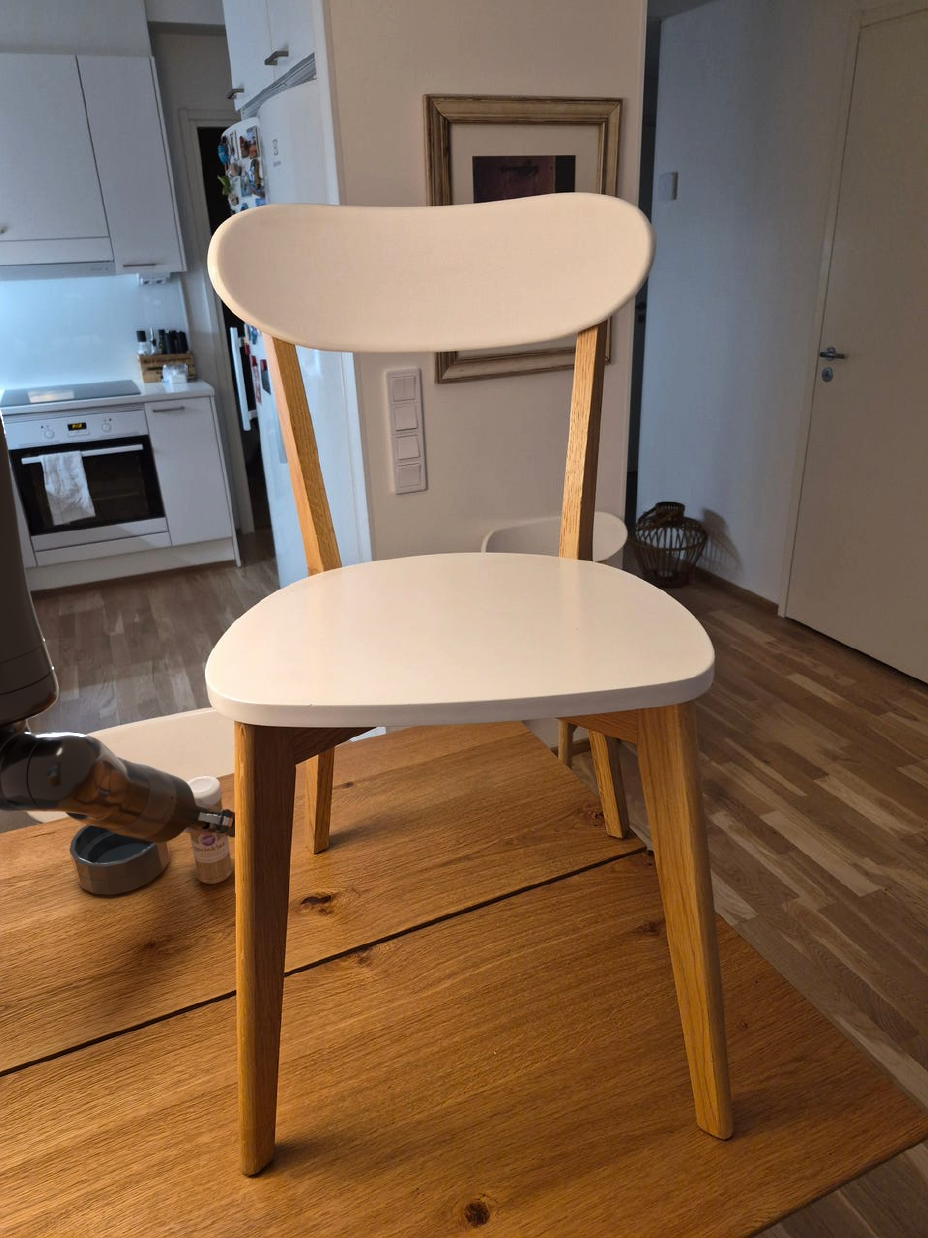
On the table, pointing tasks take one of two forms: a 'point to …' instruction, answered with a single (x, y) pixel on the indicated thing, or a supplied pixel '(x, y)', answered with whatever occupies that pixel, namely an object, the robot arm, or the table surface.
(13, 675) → the robot arm
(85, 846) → the bowl
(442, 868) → the table surface
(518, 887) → the table surface
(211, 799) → the sprinkles bottle
